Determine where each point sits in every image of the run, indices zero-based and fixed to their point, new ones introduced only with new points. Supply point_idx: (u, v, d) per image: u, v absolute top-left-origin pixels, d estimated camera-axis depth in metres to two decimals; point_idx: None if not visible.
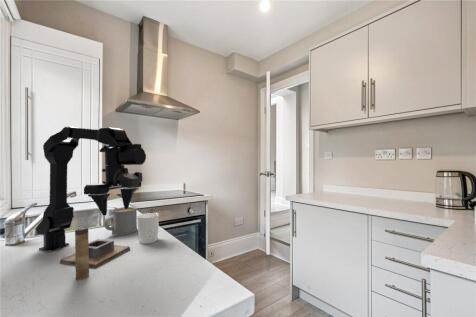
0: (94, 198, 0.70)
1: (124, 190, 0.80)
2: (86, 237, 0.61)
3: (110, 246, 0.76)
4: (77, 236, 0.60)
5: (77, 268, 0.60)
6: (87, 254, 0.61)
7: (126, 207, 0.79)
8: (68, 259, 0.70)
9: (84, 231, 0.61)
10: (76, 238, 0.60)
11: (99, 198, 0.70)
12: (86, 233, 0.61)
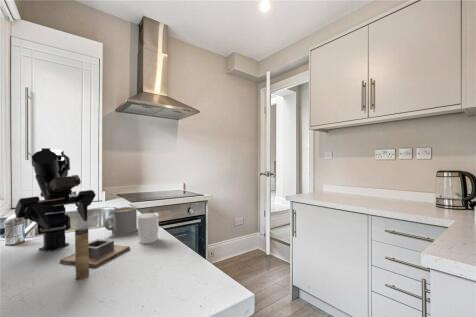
0: (32, 218, 0.62)
1: (78, 206, 0.72)
2: (86, 237, 0.61)
3: (110, 246, 0.76)
4: (77, 236, 0.60)
5: (77, 268, 0.60)
6: (87, 254, 0.61)
7: (85, 219, 0.69)
8: (68, 259, 0.70)
9: (84, 231, 0.61)
10: (76, 238, 0.60)
11: (37, 215, 0.62)
12: (86, 233, 0.61)
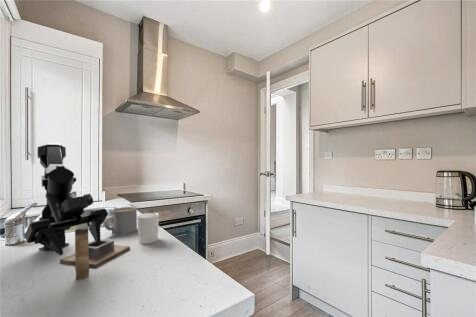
0: (44, 242, 0.58)
1: (91, 226, 0.68)
2: (86, 237, 0.61)
3: (110, 246, 0.76)
4: (77, 236, 0.60)
5: (77, 268, 0.60)
6: (87, 254, 0.61)
7: (98, 240, 0.65)
8: (68, 259, 0.70)
9: (84, 231, 0.61)
10: (76, 238, 0.60)
11: (48, 239, 0.59)
12: (86, 233, 0.61)
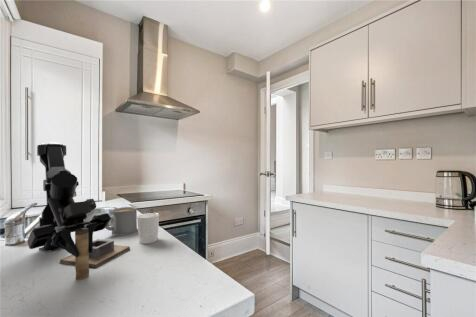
0: (60, 244, 0.60)
1: None
2: (86, 237, 0.61)
3: (110, 246, 0.76)
4: (77, 236, 0.60)
5: (77, 268, 0.60)
6: (87, 254, 0.61)
7: (90, 249, 0.62)
8: (68, 259, 0.70)
9: (84, 231, 0.61)
10: (76, 238, 0.60)
11: (64, 241, 0.60)
12: (86, 233, 0.61)
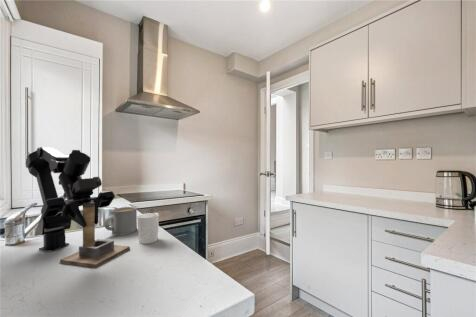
0: (69, 216, 0.67)
1: None
2: (92, 210, 0.68)
3: (110, 246, 0.76)
4: (84, 208, 0.67)
5: (84, 237, 0.67)
6: (93, 225, 0.68)
7: (96, 221, 0.69)
8: (68, 259, 0.70)
9: (91, 204, 0.67)
10: (83, 210, 0.67)
11: (73, 213, 0.67)
12: (92, 206, 0.68)
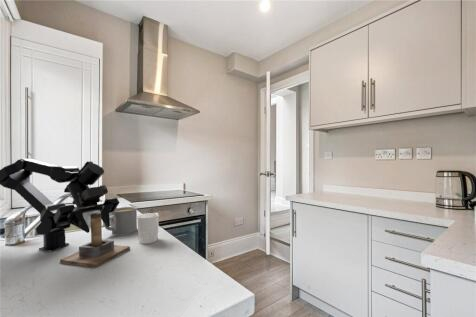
0: (73, 223, 0.73)
1: (101, 213, 0.80)
2: (99, 220, 0.74)
3: (110, 246, 0.76)
4: (92, 219, 0.73)
5: (93, 245, 0.73)
6: (100, 234, 0.75)
7: (107, 225, 0.77)
8: (68, 259, 0.70)
9: (98, 215, 0.74)
10: (91, 221, 0.73)
11: (77, 220, 0.73)
12: (99, 217, 0.74)
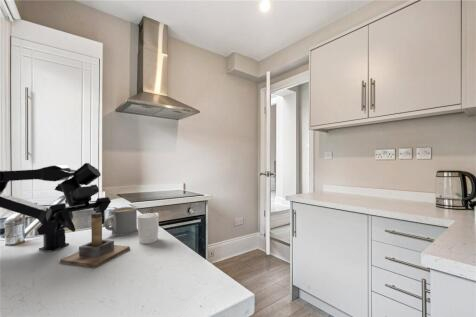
0: (60, 222, 0.74)
1: (97, 211, 0.84)
2: (100, 220, 0.75)
3: (110, 246, 0.76)
4: (93, 219, 0.74)
5: (93, 245, 0.74)
6: (101, 234, 0.75)
7: (102, 222, 0.81)
8: (68, 259, 0.70)
9: (99, 215, 0.74)
10: (92, 220, 0.74)
11: (63, 219, 0.74)
12: (100, 217, 0.75)
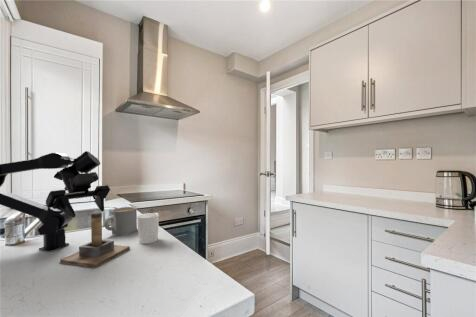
0: (60, 208, 0.75)
1: (96, 199, 0.85)
2: (100, 220, 0.75)
3: (110, 246, 0.76)
4: (93, 219, 0.74)
5: (93, 245, 0.74)
6: (101, 234, 0.75)
7: (102, 209, 0.81)
8: (68, 259, 0.70)
9: (98, 215, 0.74)
10: (92, 220, 0.74)
11: (63, 205, 0.75)
12: (100, 217, 0.75)
